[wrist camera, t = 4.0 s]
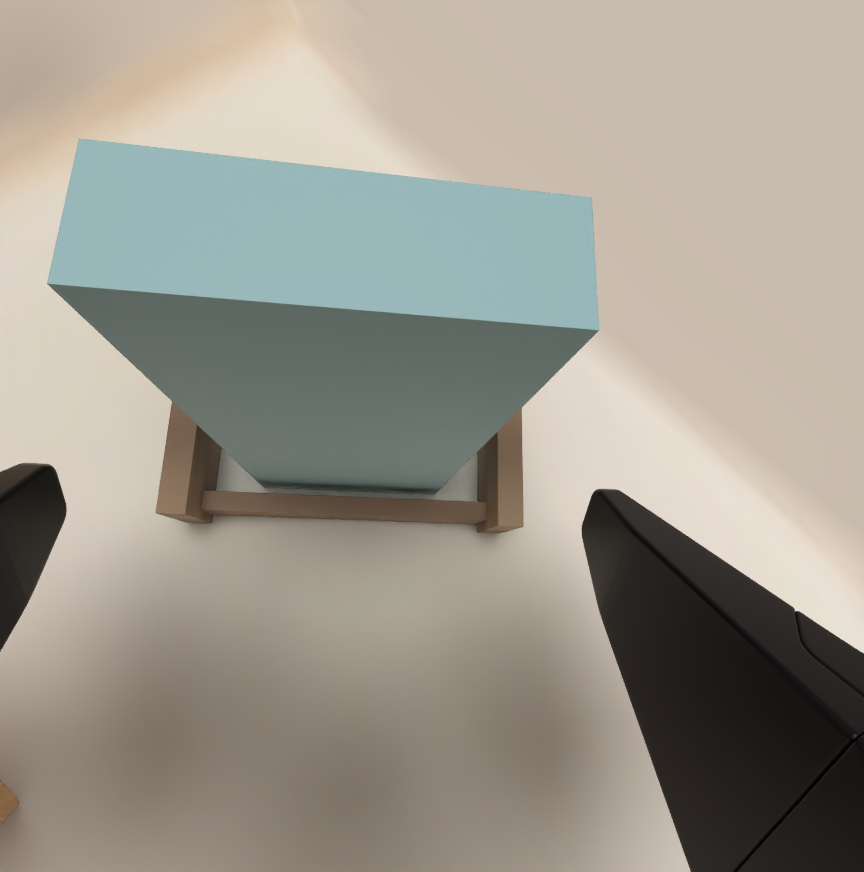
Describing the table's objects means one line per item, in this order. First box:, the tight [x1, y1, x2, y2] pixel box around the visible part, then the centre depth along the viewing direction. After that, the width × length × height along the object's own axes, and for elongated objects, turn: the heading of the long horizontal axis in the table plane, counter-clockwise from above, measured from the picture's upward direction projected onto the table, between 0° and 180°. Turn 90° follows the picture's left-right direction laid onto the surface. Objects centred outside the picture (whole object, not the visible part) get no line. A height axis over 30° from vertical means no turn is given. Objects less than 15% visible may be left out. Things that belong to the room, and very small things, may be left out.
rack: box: [156, 401, 523, 533], centre depth 18 cm, size 4×11×3 cm, turn 89°
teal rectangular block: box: [47, 139, 599, 495], centre depth 13 cm, size 2×6×14 cm, turn 89°
